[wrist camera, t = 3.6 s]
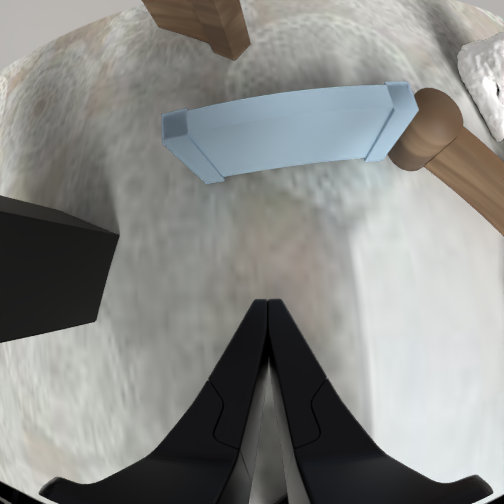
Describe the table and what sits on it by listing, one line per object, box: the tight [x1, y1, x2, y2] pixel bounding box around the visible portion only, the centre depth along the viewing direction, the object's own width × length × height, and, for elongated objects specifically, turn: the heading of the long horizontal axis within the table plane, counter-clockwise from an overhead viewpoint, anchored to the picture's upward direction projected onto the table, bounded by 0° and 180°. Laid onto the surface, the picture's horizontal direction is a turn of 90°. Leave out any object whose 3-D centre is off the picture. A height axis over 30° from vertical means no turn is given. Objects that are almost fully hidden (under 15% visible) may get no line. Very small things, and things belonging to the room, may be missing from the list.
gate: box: [162, 82, 419, 184], centre depth 18 cm, size 13×2×8 cm, turn 97°
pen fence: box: [142, 0, 504, 236], centre depth 18 cm, size 14×40×9 cm, turn 55°
